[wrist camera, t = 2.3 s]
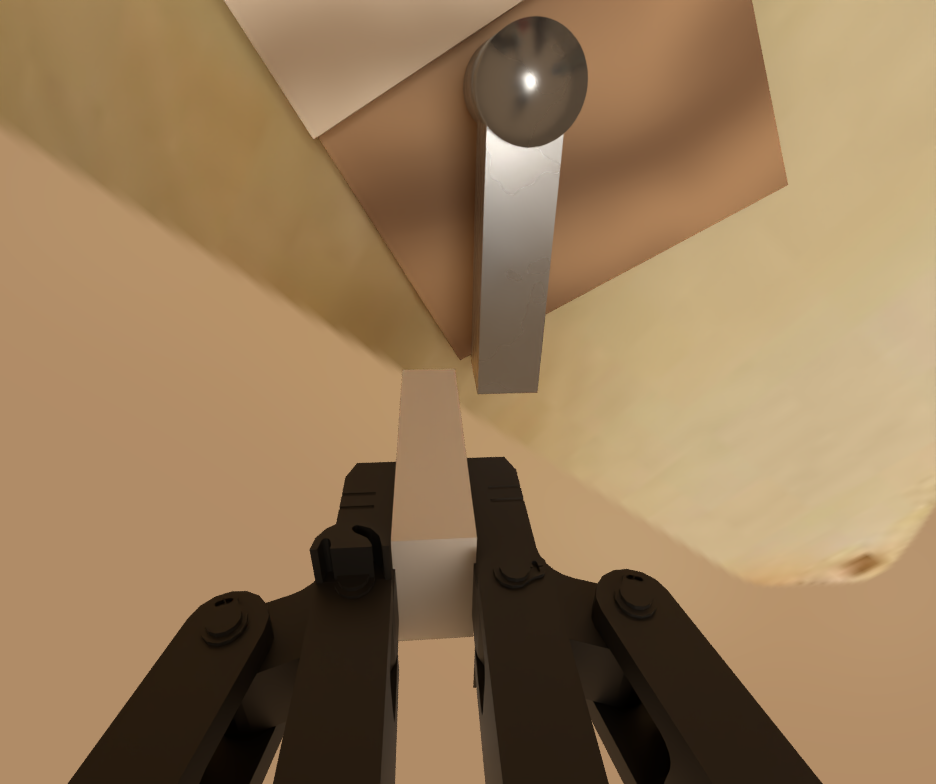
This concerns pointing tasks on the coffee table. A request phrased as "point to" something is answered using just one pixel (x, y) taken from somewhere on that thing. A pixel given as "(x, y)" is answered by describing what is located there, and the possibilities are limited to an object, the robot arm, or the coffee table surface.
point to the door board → (584, 144)
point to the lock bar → (517, 190)
